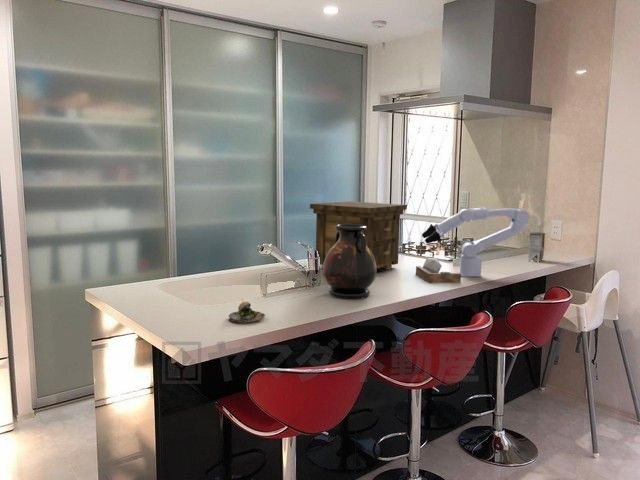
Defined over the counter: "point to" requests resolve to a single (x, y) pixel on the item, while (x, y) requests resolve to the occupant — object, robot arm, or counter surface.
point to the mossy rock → (245, 314)
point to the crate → (372, 215)
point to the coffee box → (536, 246)
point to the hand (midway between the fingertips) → (424, 239)
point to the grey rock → (432, 265)
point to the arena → (438, 276)
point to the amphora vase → (349, 263)
